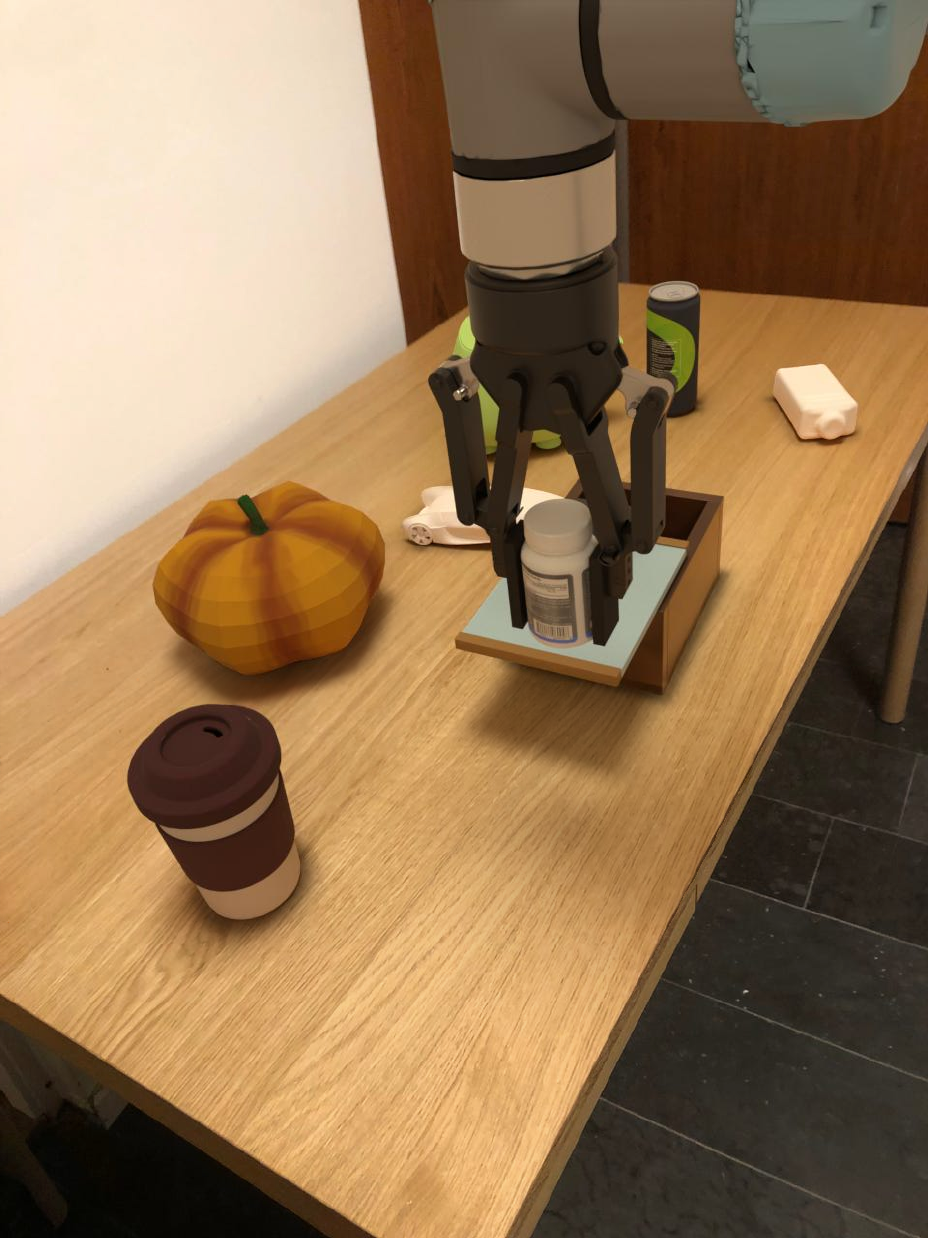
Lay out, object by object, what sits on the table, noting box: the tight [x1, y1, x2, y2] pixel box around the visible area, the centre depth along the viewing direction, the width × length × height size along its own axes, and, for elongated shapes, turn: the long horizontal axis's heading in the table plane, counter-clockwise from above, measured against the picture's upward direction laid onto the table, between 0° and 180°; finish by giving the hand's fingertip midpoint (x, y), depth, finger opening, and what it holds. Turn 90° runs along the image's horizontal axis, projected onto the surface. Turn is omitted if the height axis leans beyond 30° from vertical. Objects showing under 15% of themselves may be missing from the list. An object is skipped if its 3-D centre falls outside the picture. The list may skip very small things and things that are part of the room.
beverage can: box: [645, 280, 702, 417], centre depth 117 cm, size 6×6×15 cm
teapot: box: [452, 315, 624, 455], centre depth 118 cm, size 25×22×16 cm
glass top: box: [454, 498, 689, 688], centre depth 77 cm, size 13×18×4 cm
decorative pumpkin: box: [152, 480, 386, 676], centre depth 90 cm, size 20×22×15 cm
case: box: [563, 478, 725, 696], centre depth 87 cm, size 14×18×9 cm
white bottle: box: [772, 363, 859, 440], centre depth 113 cm, size 6×13×4 cm, turn 1°
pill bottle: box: [521, 499, 598, 649], centre depth 59 cm, size 5×5×8 cm
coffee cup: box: [126, 703, 301, 920], centre depth 67 cm, size 10×10×15 cm
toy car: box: [400, 485, 565, 546], centre depth 103 cm, size 18×8×4 cm, turn 71°
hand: (565, 623), depth 61 cm, fingers closed on pill bottle, 5 cm apart
